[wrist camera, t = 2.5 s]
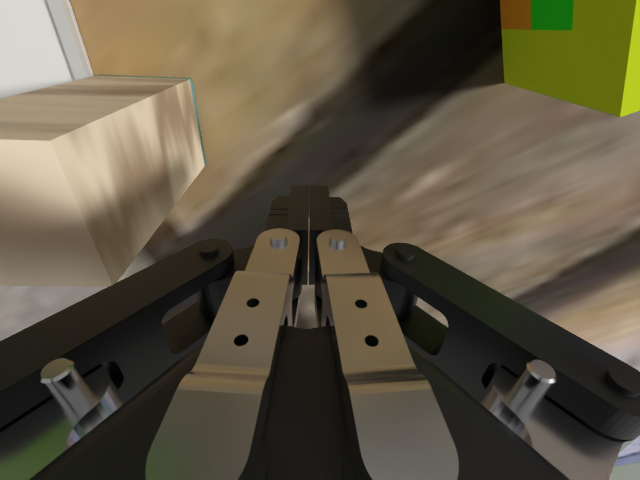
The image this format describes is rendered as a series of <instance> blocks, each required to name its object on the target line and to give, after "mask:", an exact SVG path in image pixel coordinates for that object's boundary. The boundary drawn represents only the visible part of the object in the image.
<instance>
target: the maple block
mask: <svg viewBox="0 0 640 480" xmlns="http://www.w3.org/2000/svg"><path fill="white" fill-rule="evenodd" d="M205 165H206V161H205V155H204V149H203V143H202V137H201V131H200V125H199V119H198V113H197V107H196V101H195V95H194V90H193V84H192V78H168V77H141V76H114V75H98V76H93V77H89V78H85V79H81V80H76V81H72V82H68V83H63V84H59V85H55V86H51V87H46V88H42V89H38V90H33V91H29V92H25V93H21V94H16V95H12V96H8V97H4V98H0V285H7V286H93V287H109V286H111V285H113V284H115V283H116V282H117V281H118V280H119V278H120V277H121V276H122V274H123V273H124V272H125V271H126V269H127V268H128V267H129V265H130V264H131V263H132V261H133V260H134V259H135V257H136V256H137V255H138V253H139V252H140V251H141V249H142V248H143V247H144V245H145V244H146V243H147V242H148V240H149V239H150V238H151V236H152V235H153V234H154V232H155V231H156V230H157V228H158V227H159V226H160V224H161V223H162V222H163V220H164V219H165V218H166V216H167V215H168V214H169V213H170V211H171V210H172V209H173V207H174V206H175V205H176V203H177V202H178V201H179V199H180V198H181V197H182V195H183V194H184V193H185V191H186V190H187V189H188V187H189V186H190V185H191V184H192V182H193V181H194V180H195V178H196V177H197V176H198V174H199V173H200V172H201V170H202V169H203V168H204V166H205Z"/></svg>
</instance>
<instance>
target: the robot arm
mask: <svg viewBox="0 0 640 480" xmlns="http://www.w3.org/2000/svg"><path fill="white" fill-rule="evenodd" d="M308 216H309V185H291V192H290V196H278V197H277V198H276V199H275V200H274V201H272V204H271V210H270V213H269V218H268V222H267V226H266V231H265V232H263V233H261V234H260V235H259V236H258V238H257V241H256V243H255V245H254V246H252V247H249V248H245V249H239V250H234V251H233V248H232V246H231V244H230V243H228V242H227V241H225V240H221V239H208V240H203V241H200V242H197V243H195V244H193V245H191V246H189V247H187V248H185V249H183V250H181V251H179V252H177V253H175V254H173V255H171V256H169V257H167V258H165V259H163V260H161V261H159V262H157V263H155V264H153V265H151V266H149V267H147V268H145V269H143V270H141V271H139V272H137V273H135V274H133V275H131V276H129V277H127V278H125V279H123V280H121V281H119V282H117V283H115V284H113V285H111V286H109V287H107V288H105V289H103V290H101V291H99V292H97V293H95V294H94V295H92V296H90V297H88V298H86V299H84V300H82V301H80V302H78V303H76V304H74V305H72V306H70V307H68V308H66V309H64V310H62V311H60V312H58V313H56V314H54V315H52V316H50V317H48V318H46V319H44V320H42V321H40V322H38V323H36V324H34V325H32V326H30V327H28V328H26V329H24V330H22V331H20V332H18V333H16V334H14V335H12V336H10V337H8V338H6V339H4V340H2V341H0V480H609V478H610V475H611V473H612V470H613V467H614V465H615V462H616V459H617V457H618V454H619V452H620V451H621V450H623V449H624V448H625V447H626V446H627V445H629V444H630V443H631V442H632V441H633V440H635V439H636V438H637V437H638V436H639V435H640V372H639V371H638V370H636V369H635V368H633V367H631V366H630V365H628V364H626V363H624V362H622V361H621V360H619V359H617V358H615V357H614V356H612V355H610V354H608V353H606V352H605V351H603V350H601V349H599V348H597V347H596V346H594V345H592V344H590V343H588V342H587V341H585V340H583V339H581V338H580V337H578V336H576V335H574V334H572V333H571V332H569V331H567V330H565V329H563V328H562V327H560V326H558V325H556V324H555V323H553V322H551V321H549V320H547V319H546V318H544V317H542V316H540V315H538V314H537V313H535V312H533V311H531V310H529V309H528V308H526V307H524V306H522V305H521V304H519V303H517V302H515V301H513V300H512V299H510V298H508V297H506V296H504V295H503V294H501V293H499V292H497V291H496V290H494V289H492V288H490V287H488V286H487V285H485V284H483V283H481V282H479V281H478V280H476V279H474V278H472V277H471V276H469V275H467V274H465V273H463V272H462V271H460V270H458V269H456V268H454V267H453V266H451V265H449V264H447V263H445V262H444V261H442V260H440V259H438V258H437V257H435V256H433V255H431V254H429V253H428V252H426V251H424V250H422V249H420V248H419V247H417V246H414V245H411V244H407V243H393V244H390V245H388V246H386V247H385V248H384V250H383V253H381V252H377V251H372V250H369V249H366V248H364V247H362V246H360V243H359V240H358V238H357V237H356V236H355V235H354V234H353V233H352V228H351V223H350V218H349V213H348V208H347V203H346V202H345V201H344V200H343V199H341V198H340V197H329V191H328V186H324V185H311V186H310V238H309V285H315V311H316V319H317V328H313V329H301V328H297V327H296V323H297V316H298V309H299V302H300V294H301V290H302V285H307V272H308ZM193 294H196V299H197V302H196V303H195V304H193V305H192V306H190V307H189V308H187V309H185V310H184V311H182V312H181V313H179V314H178V315H176V316H175V317H173V318H172V319H170V320H169V321H167V322H165V323H164V324H162V325H161V322H162V319H163V317H164V315H165V314H166V312H167V311H168V310H170V309H171V308H173V307H174V306H176V305H177V304H179V303H181V302H182V301H184V300H185V299H187V298H189V297H190V296H192V295H193ZM418 297H419V298H421V299H422V300H423V301H425V302H426V303H428V304H429V305H431V306H432V307H434V308H435V309H437V310H438V311H440V312H441V313H442V314H443V315H444V316H445V317H446V319H447V321H448V325H449V327H448V328H447V327H446V326H445V325H443V324H442V323H440V322H439V321H438V320H436V319H435V318H433V317H432V316H430V315H429V314H428V313H426V312H425V311H423V310H422V309H420V308H419V307H418V306H416V302H417V299H418Z"/></svg>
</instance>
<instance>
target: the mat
mask: <svg viewBox="0 0 640 480" xmlns="http://www.w3.org/2000/svg"><path fill="white" fill-rule="evenodd" d="M93 76H94V75H93V72H92V69H91V66H90V62H89V59H88V56H87V53H86V50H85V47H84V44H83V41H82V38H81V34H80V31H79V28H78V25H77V22H76V19H75V16H74V13H73V10H72V6H71V3H70V0H0V98H4V97H8V96H12V95H16V94H21V93H25V92H29V91H33V90H38V89H42V88H46V87H51V86H55V85H59V84H63V83H68V82H72V81H76V80H81V79H85V78H89V77H93Z"/></svg>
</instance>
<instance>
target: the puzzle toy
mask: <svg viewBox="0 0 640 480" xmlns="http://www.w3.org/2000/svg"><path fill="white" fill-rule="evenodd" d="M500 11H501V29H502V48H503V66H504V83H506V84H510V85H513V86H516V87H520V88H523V89H527V90H530V91H533V92H537V93H540V94H544V95H547V96H550V97H554V98H557V99H560V100H564V101H567V102H571V103H574V104H577V105H581V106H584V107H588V108H591V109H594V110H598V111H601V112H604V113H608V114H611V115H615V116H618V117H622V116H625V115H628V114H631V113H633V112H636V111H639V110H640V0H500Z"/></svg>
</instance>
